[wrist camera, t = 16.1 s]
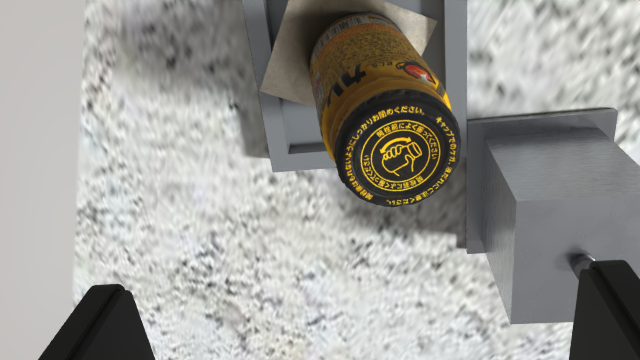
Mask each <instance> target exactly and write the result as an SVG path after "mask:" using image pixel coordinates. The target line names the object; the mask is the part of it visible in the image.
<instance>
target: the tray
mask: <svg viewBox="0 0 640 360" xmlns="http://www.w3.org/2000/svg"><path fill="white" fill-rule="evenodd" d="M288 1H289V0H242V4H243V10H244V15H245V21H246V26H247V32H248V38H249V43H250V49H251V54H252V60H253V65H254V71H255V77H256V82H257V88H258V93H259V99H260V104H261V110H262V116H263V121H264V127H265V132H266V138H267V143H268V149H269V155H270V160H271V166H272V171H273V172H285V171H298V170H311V169H324V168H336V163H335V162H334V161H333V160H332V159H331V158H330V156H329V153H328V152H327V150H326V148H325V145H324V142H323V140H322V136H321V133H320V127H319V122H318V118H317V109H316V108H313V107H309V106H306V105H303V104H300V103H297V102H292V101H289V100H287V99H284V98H281V97H277V96H273V95H270V94H267V93H264V92H261V91H260V89H261V85H262V82H263V79H264V76H265V73H266V69H267V66H268V63H269V60H270V57H271V54H272V51H273V48H274V44H275V41H276V38H277V35H278V32H279V29H280V26H281V23H282V19H283V16H284V13H285V11H286V7H287V4H288ZM382 1H385V2H388V3H391V4H393V5H396V6H399V7H401V8H403V9H407V10H409V11H412V12H415V13H417V14H420V15H423V16H425V17H428V18H431V19H433V20H436V21H437V24H436V26H435V28H434V30H433V33H432V35H431V37H430V39H429V41H428V43H427V46H426V47H425V50H424V52H423V53H422V55H421V57H422V59H423V60H424V61H425V62H426V64H427V65H428V66H429V67H430V69H431V70H432V72H433V73H434V74H435V75H436V77H437V78H438V80H439V81H440V82H441V84H442V85H443V87H444V89H445V90H446V93H447V95H448V97H449V101H450V104H451V112H452V114H453V115H454V116H455V118H456V120H457V122H458V125H459V128H460V136H461V149H460V158H467V0H382Z"/></svg>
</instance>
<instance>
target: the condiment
mask: <svg viewBox="0 0 640 360" xmlns="http://www.w3.org/2000/svg"><path fill="white" fill-rule="evenodd" d="M436 24H437V21H436V20H433V19H431V18H428V17H425V16H423V15H420V14H417V13H415V12H412V11H409V10H407V9H403V8H401V7H399V6H396V5H393V4H391V3H388V2H385V1H382V0H289V1H288V4H287V7H286V11H285V13H284V16H283V19H282V23H281V26H280V29H279V32H278V35H277V38H276V41H275V44H274V48H273V51H272V54H271V57H270V60H269V63H268V66H267V69H266V73H265V76H264V79H263V82H262V85H261V89H260V91H261V92H264V93H267V94H270V95H273V96H277V97H281V98H284V99H287V100H289V101H292V102H297V103H300V104H303V105H306V106H309V107H313V108H316V109H317V118H318V122H319V127H320V133H321V136H322V140H323V142H324V145H325V148H326V150H327V152H328V153H329V156H330V158H331V159H332V160H333V161H334V162H335V163H336V168H337V169H338V173H339V177H340V179H341V181H342V182H343V183H344V184H345V185H346V187H347V188H349V189H350V190H351V191H352V192H353V193H355V194H356V195H357V196H358V197H359V198H361V199H363V200H365V201H367V202H370V203H373V204H376V205H382V206H386V207H397V206H402V205H410V204H415V203H418V202H420V201H422V200H424V199H426V198H428V197H429V196H431V195H432V194H434V193H435V192H436V191H438V190H439V189H440V188H441V187H442V186H443V185H444V184H445V183H446V181H447V180H448V179H449V177H450V175H451V174H452V172H453V171H454V169H455V168H456V166H457V164H458V161H459V158H460V149H461V136H460V128H459V125H458V122H457V120H456V118H455V116H454V115H453V114H452V112H451V104H450V101H449V97H448V95H447V93H446V90H445V89H444V87H443V85H442V84H441V82H440V81H439V80H438V78H437V77H436V75H435V74H434V73H433V72H432V70H431V69H430V67H429V66H428V65H427V64H426V62H425V61H424V60H423V59H422V57H421V55H422V53H423V52H424V50H425V47H426V46H427V43H428V41H429V39H430V37H431V35H432V33H433V30H434V28H435V26H436Z"/></svg>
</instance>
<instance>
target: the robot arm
mask: <svg viewBox="0 0 640 360" xmlns="http://www.w3.org/2000/svg"><path fill="white" fill-rule="evenodd" d="M38 360H155V357H154V355H153V352H152V349H151V346H150V343H149V340H148V338H147V335H146V332H145V329H144V326H143V323H142V320H141V318H140V315H139V312H138V309H137V306H136V303H135V301H134V298H133V295H132V293H131V292H130V291H128V290H125V289H124V287H123V286H122V285H120V284H107V285H94V286H92V287H91V288H90V289H89V290H88V291H87V293H86V294H85V296H84V297H83V298H82V300H81V301H80V302H79V304H78V305H77V307H76V308H75V309H74V311H73V312H72V313H71V315H70V316H69V318H68V319H67V320H66V322H65V323H64V325H63V326H62V327H61V329H60V330H59V332H58V333H57V334H56V335H55V337H54V339H53V340H52V341H51V342H50V344H49V345H48V347H47V348H46V349H45V351H44V352H43V353H42V355H41V356H40V358H39V359H38ZM569 360H640V279H639V277H638V276H637V275H636V273H635V272H634V271H633V269H632V268H631V266H630V265H629V264H628V263H627V262H626V261H625V260H603V261H592V262H591V263H590V265H589V269H582V270H581V271H580V275H579V283H578V291H577V299H576V307H575V315H574V323H573V331H572V339H571V347H570V355H569Z"/></svg>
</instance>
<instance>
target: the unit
mask: <svg viewBox="0 0 640 360" xmlns="http://www.w3.org/2000/svg"><path fill="white" fill-rule="evenodd" d="M617 115H618V111H617V110H616V109H614V108H609V109H597V110H585V111H573V112H561V113H549V114H537V115H526V116H514V117H502V118H490V119H478V120H467V158H466V252H467V254H475V253H486V255H487V258H488V261H489V264H490V267H491V270H492V273H493V276H494V278H495V281H496V284H497V287H498V290H499V293H500V296H501V299H502V302H503V304H504V307H505V310H506V313H507V316H508V319H509V322H510V324H529V323H555V322H574V315H575V307H576V299H577V291H578V283H579V275H580V271H581V270H582V269H589V265H590V263H591V262H592V261H603V260H625V261H626V262H627V263H628V264H629V265H630V266H631V268H632V269H633V271H634V272H635V273H636V275H637V276H638V277H639V279H640V166H639V165H638V164H637V163H636V162H635V161H633V160H632V159H631V158H630V157H629V156H628V155H627V154H626V153H625V152H624V151H623V150H622V149H621V148H620V147H619V146H618V145H617V144H615V143H614V136H615V129H616V122H617Z"/></svg>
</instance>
